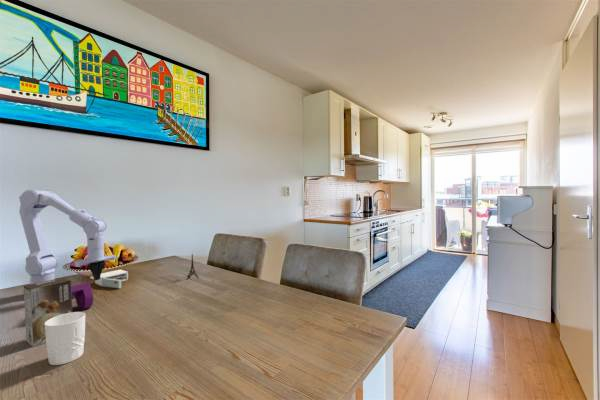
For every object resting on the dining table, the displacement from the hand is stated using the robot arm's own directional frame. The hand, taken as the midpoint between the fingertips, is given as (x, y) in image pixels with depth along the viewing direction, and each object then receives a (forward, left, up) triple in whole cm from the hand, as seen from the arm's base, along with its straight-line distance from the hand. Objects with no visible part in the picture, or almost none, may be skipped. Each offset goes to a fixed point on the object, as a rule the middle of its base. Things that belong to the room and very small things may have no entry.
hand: (96, 279), depth 117 cm
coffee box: (+33, -24, -6) cm, 41 cm away
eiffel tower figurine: (+18, +34, -6) cm, 39 cm away
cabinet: (-10, +10, -5) cm, 15 cm away
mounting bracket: (+11, -14, -6) cm, 18 cm away
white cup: (+50, -25, -6) cm, 56 cm away
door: (-1, +6, -5) cm, 8 cm away
